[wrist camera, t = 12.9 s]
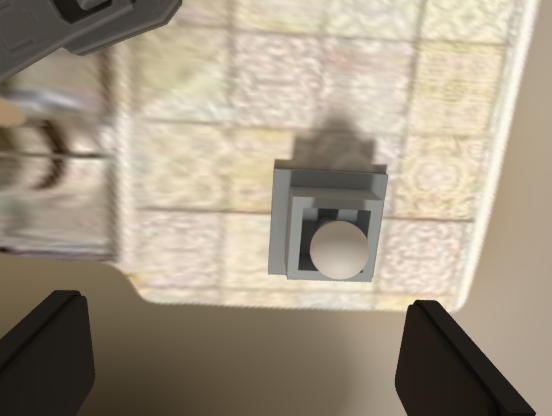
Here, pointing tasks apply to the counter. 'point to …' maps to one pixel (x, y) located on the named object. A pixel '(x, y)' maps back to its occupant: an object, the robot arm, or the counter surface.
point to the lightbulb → (339, 249)
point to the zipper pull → (72, 27)
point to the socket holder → (321, 216)
